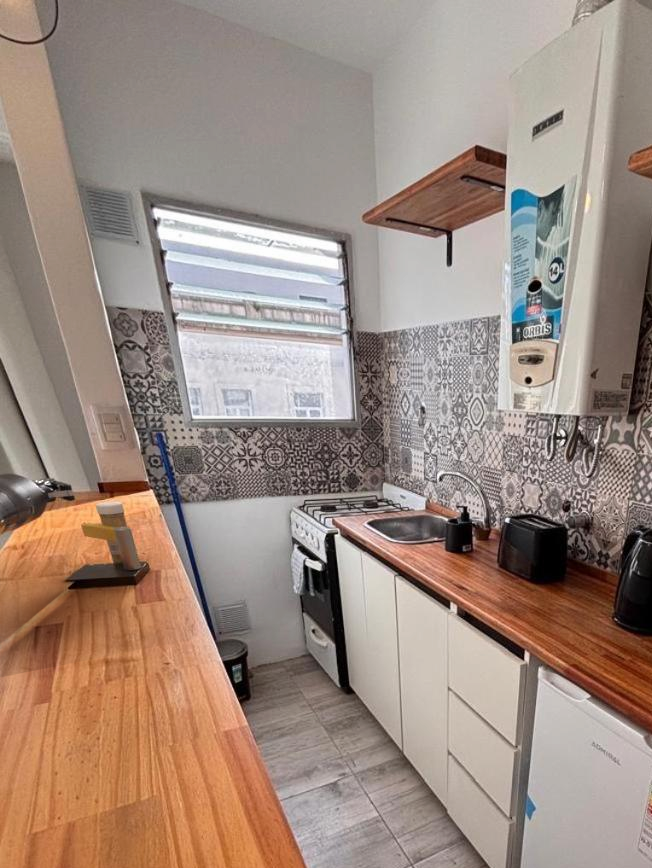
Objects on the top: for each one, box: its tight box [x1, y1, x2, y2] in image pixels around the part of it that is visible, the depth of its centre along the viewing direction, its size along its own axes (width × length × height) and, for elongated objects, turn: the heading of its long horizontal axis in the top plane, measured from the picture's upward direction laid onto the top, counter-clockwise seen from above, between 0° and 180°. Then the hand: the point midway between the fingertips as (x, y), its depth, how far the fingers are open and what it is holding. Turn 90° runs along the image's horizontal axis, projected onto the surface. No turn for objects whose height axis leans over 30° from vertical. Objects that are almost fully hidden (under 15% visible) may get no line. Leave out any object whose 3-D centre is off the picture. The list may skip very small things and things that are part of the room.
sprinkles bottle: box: [95, 501, 128, 563], centre depth 108 cm, size 5×5×13 cm
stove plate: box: [64, 560, 151, 590], centre depth 103 cm, size 12×10×2 cm
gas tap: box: [80, 522, 141, 570], centre depth 104 cm, size 12×3×8 cm, turn 68°
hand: (51, 484), depth 93 cm, fingers closed
